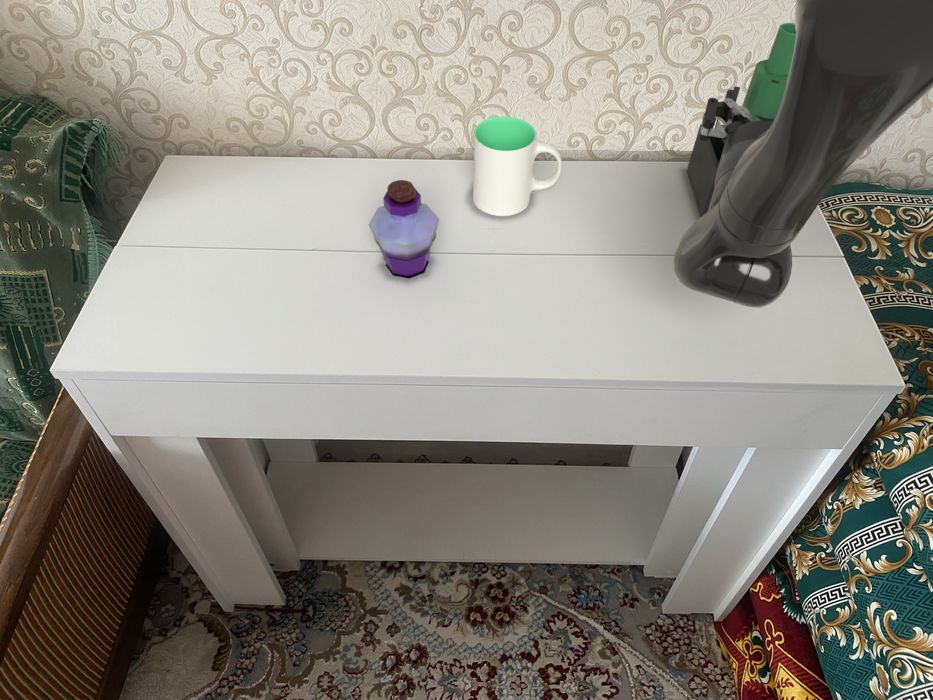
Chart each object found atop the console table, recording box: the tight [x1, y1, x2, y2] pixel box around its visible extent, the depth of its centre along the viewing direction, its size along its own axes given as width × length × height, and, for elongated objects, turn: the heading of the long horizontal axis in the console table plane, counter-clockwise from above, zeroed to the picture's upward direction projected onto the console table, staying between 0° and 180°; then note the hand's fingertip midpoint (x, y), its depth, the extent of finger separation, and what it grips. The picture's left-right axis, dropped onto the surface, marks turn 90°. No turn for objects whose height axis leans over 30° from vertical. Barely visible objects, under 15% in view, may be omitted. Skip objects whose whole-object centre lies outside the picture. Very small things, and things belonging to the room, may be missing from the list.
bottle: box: [742, 22, 796, 119], centre depth 89 cm, size 5×5×23 cm
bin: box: [686, 123, 725, 218], centre depth 95 cm, size 11×11×8 cm
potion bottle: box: [368, 179, 440, 280], centre depth 84 cm, size 9×9×12 cm
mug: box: [472, 116, 563, 217], centre depth 94 cm, size 12×8×10 cm, turn 91°
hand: (769, 100), depth 86 cm, fingers open, 8 cm apart
